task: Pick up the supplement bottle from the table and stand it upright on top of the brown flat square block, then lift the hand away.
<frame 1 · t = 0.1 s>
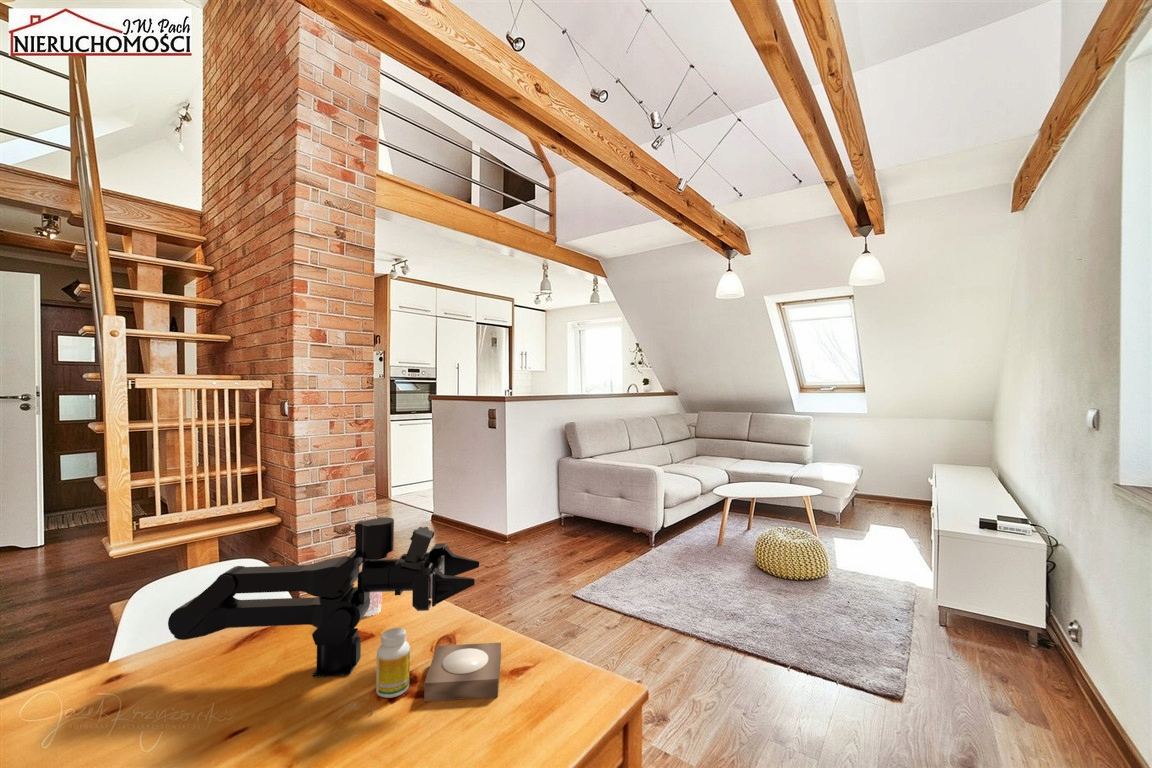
hand: (477, 572, 93), 17 cm above the table, tool horizontal, fingers open, 9 cm apart
beverage cup: (370, 612, 113), on the table
brown flat square block: (465, 678, 87), on the table
supplement bottle: (392, 690, 84), on the table
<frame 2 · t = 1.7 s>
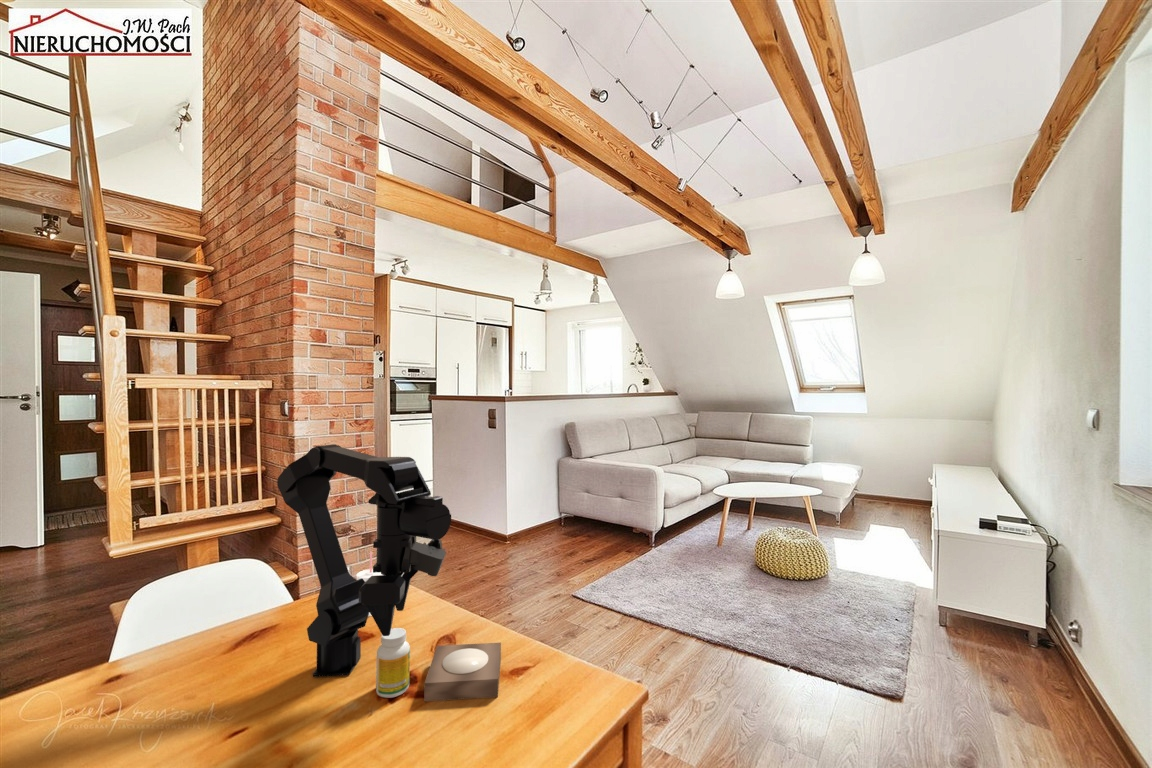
hand: (393, 622, 84), 11 cm above the table, tool pointing down, fingers open, 9 cm apart
nothing on the table moved.
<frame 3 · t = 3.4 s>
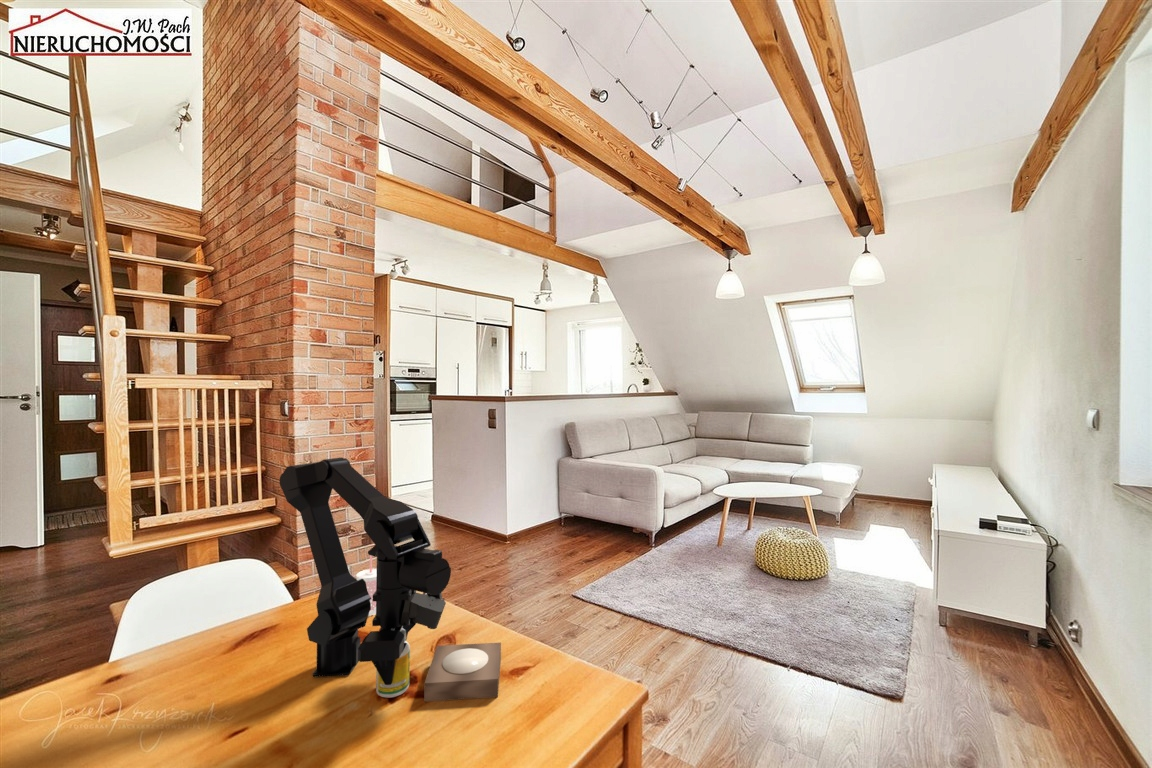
hand: (393, 674, 84), 3 cm above the table, tool pointing down, fingers closed on supplement bottle, 5 cm apart
supplement bottle: (393, 690, 84), on the table, touching gripper
everything else where it was.
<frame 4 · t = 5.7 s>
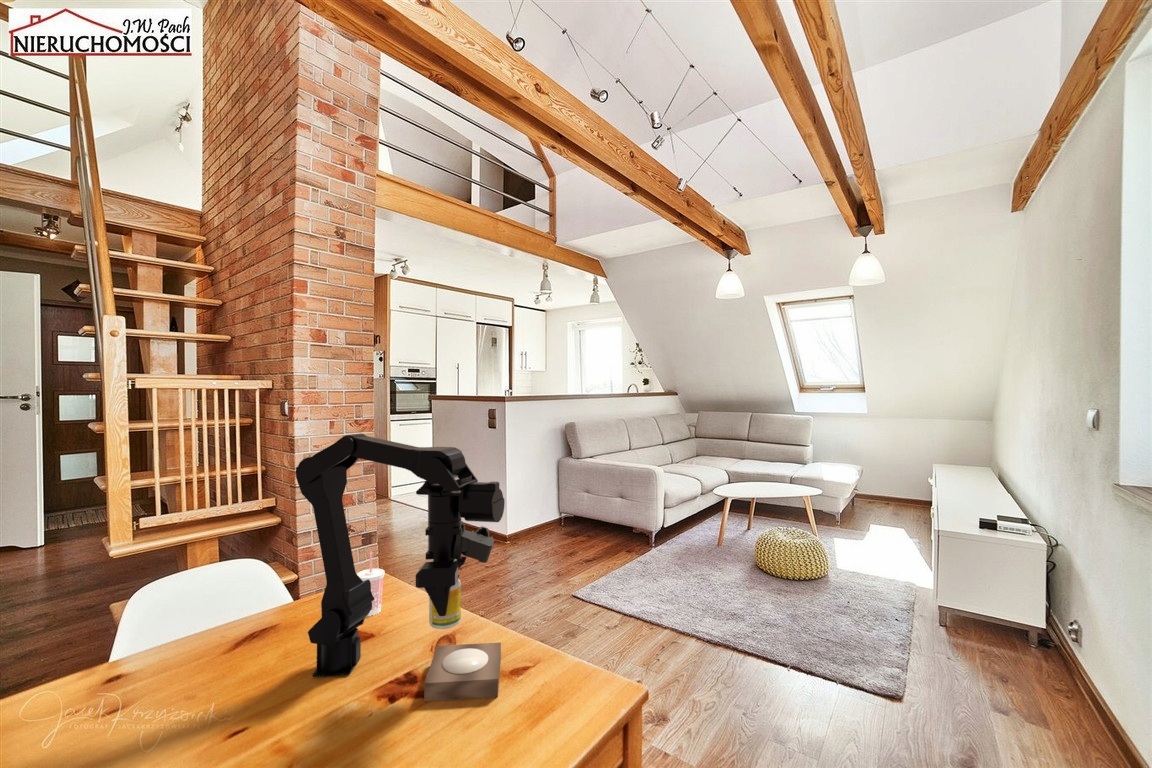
hand: (445, 608, 86), 13 cm above the table, tool pointing down, fingers closed on supplement bottle, 5 cm apart
supplement bottle: (445, 624, 86), point 10 cm above the table, touching gripper
everything else where it was.
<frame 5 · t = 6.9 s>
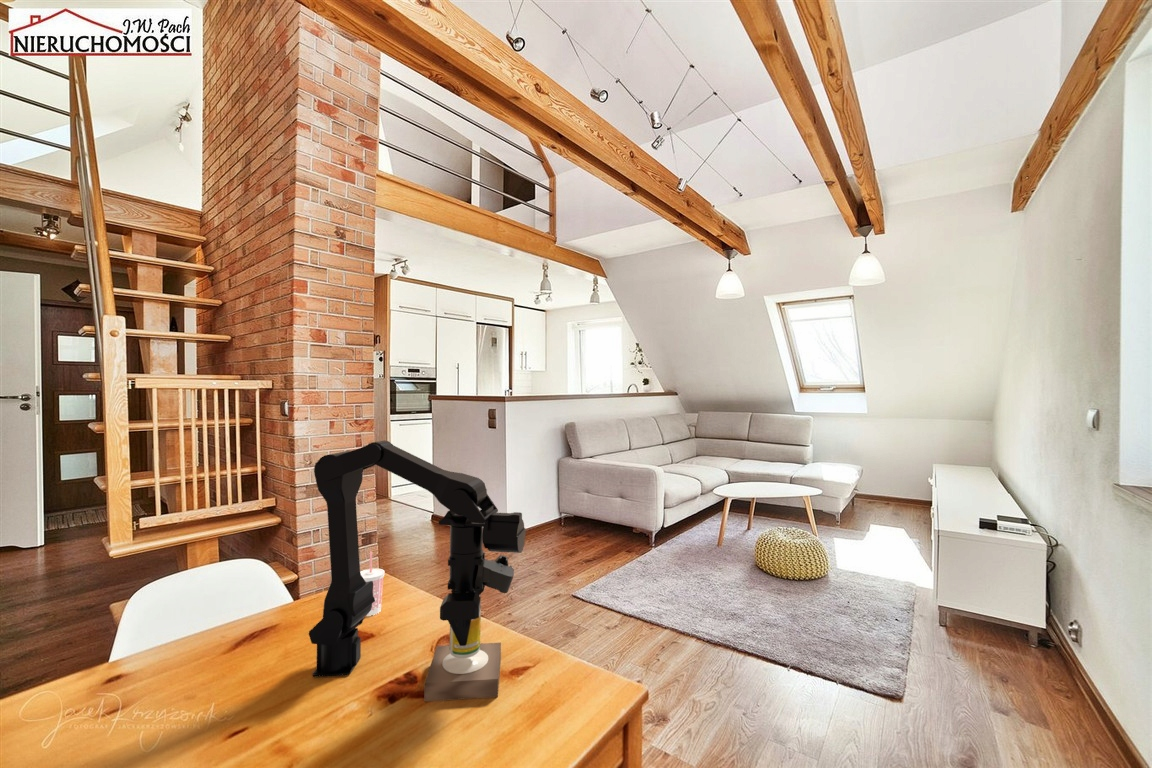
hand: (465, 637, 87), 7 cm above the table, tool pointing down, fingers closed on supplement bottle, 5 cm apart
supplement bottle: (464, 652, 87), point 5 cm above the table, touching gripper
everything else where it was.
when the fingers open (7 cm above the table, at t = 7.8 s): supplement bottle stays where it is, resting on brown flat square block.
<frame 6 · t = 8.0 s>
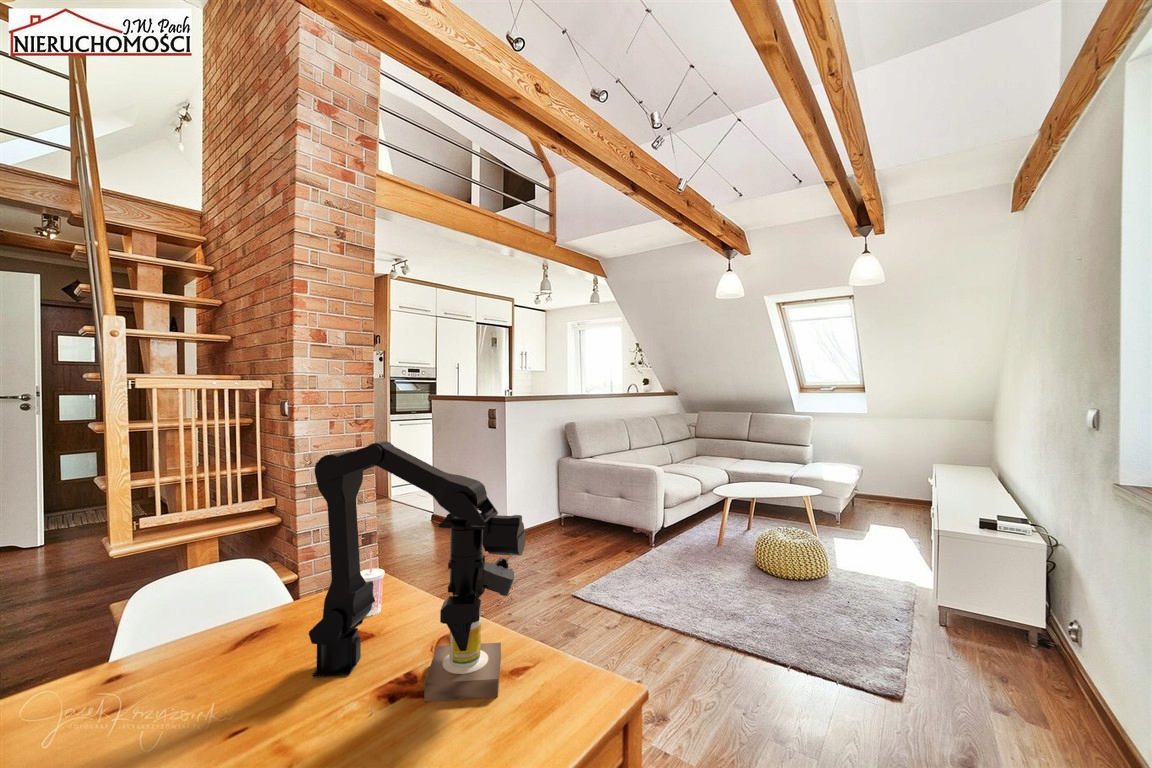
hand: (465, 639, 87), 7 cm above the table, tool pointing down, fingers open, 7 cm apart
supplement bottle: (465, 661, 87), point 3 cm above the table, touching brown flat square block
everything else where it was.
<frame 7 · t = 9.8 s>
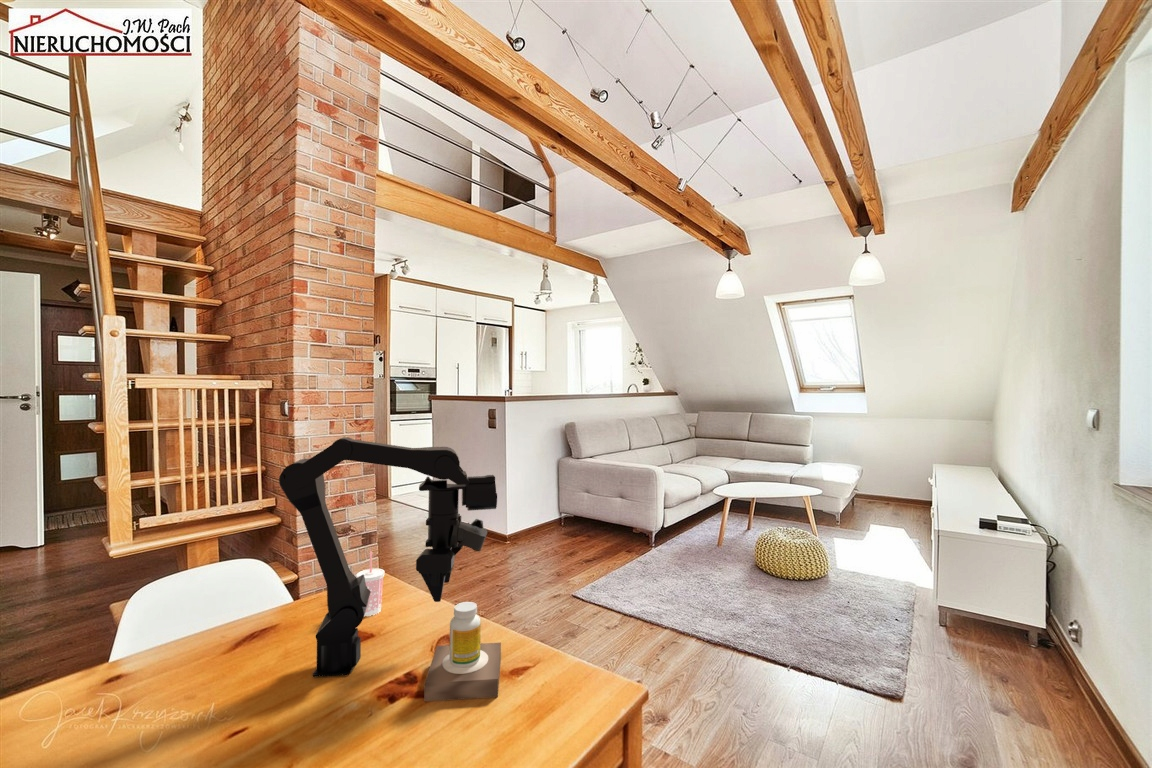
hand: (442, 591, 96), 12 cm above the table, tool pointing down, fingers open, 9 cm apart
nothing on the table moved.
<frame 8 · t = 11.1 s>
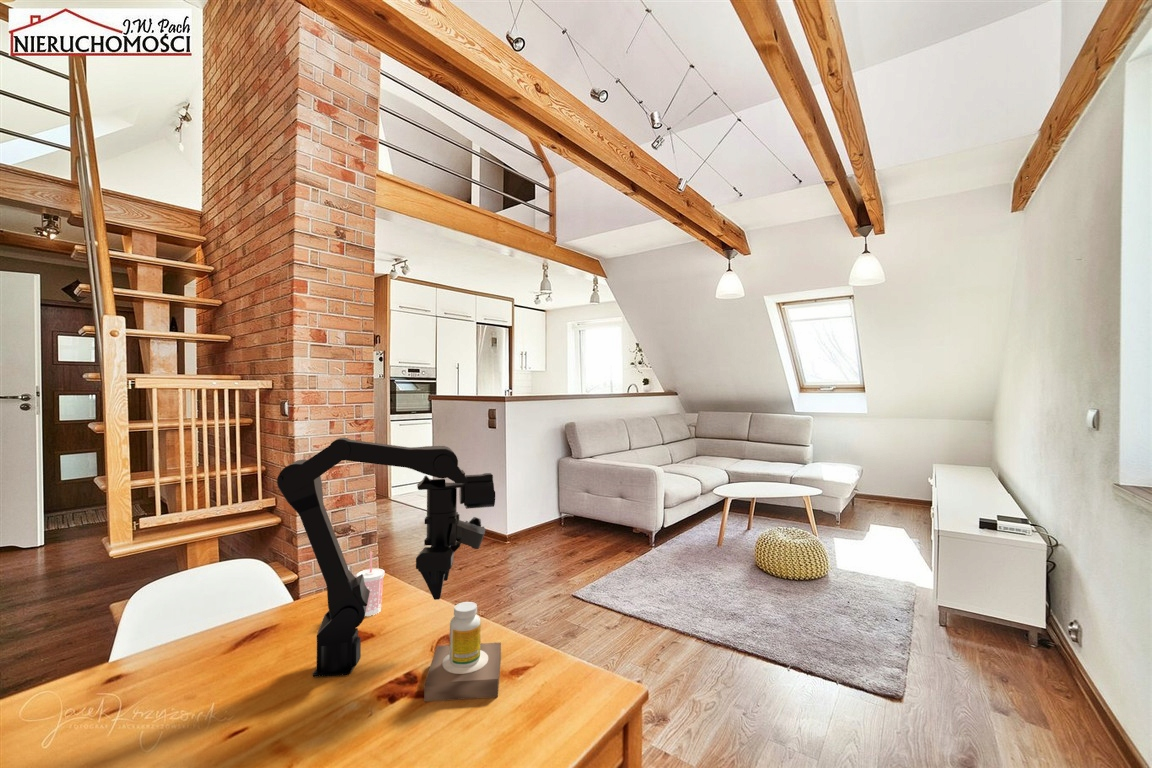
hand: (441, 589, 97), 12 cm above the table, tool pointing down, fingers open, 9 cm apart
nothing on the table moved.
at the end: supplement bottle inside the target area on the brown flat square block (0.1 cm from its centre), point 3.0 cm above the brown flat square block's base; supplement bottle tilted 0°; the gripper is holding nothing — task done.
